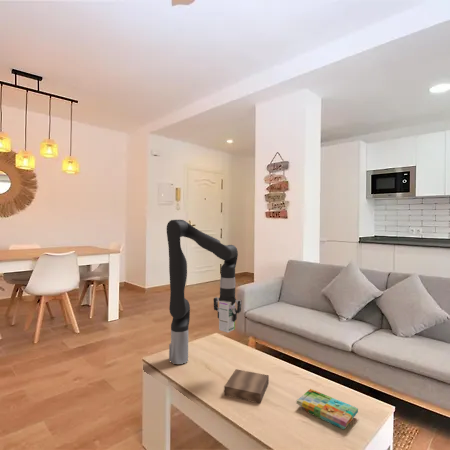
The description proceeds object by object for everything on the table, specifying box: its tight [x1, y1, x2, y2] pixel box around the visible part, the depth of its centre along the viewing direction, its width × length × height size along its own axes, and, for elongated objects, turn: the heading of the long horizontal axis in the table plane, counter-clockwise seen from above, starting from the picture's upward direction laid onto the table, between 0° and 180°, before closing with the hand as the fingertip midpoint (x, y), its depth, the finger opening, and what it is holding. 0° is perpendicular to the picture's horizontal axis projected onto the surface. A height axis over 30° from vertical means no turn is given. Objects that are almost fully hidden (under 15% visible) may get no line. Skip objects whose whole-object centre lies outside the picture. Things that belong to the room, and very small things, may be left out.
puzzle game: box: [296, 388, 359, 430], centre depth 122 cm, size 12×5×20 cm
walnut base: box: [223, 368, 270, 404], centre depth 138 cm, size 16×16×4 cm
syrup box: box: [218, 301, 236, 333], centre depth 150 cm, size 6×6×14 cm
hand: (227, 320), depth 150 cm, fingers closed on syrup box, 6 cm apart
